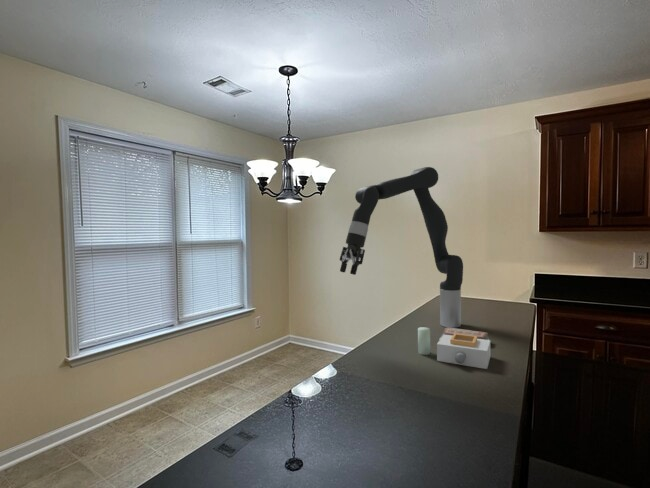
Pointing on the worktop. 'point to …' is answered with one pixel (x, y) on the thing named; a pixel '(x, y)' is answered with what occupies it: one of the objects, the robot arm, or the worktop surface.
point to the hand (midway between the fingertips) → (347, 273)
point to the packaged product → (465, 333)
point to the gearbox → (464, 350)
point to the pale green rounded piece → (424, 341)
